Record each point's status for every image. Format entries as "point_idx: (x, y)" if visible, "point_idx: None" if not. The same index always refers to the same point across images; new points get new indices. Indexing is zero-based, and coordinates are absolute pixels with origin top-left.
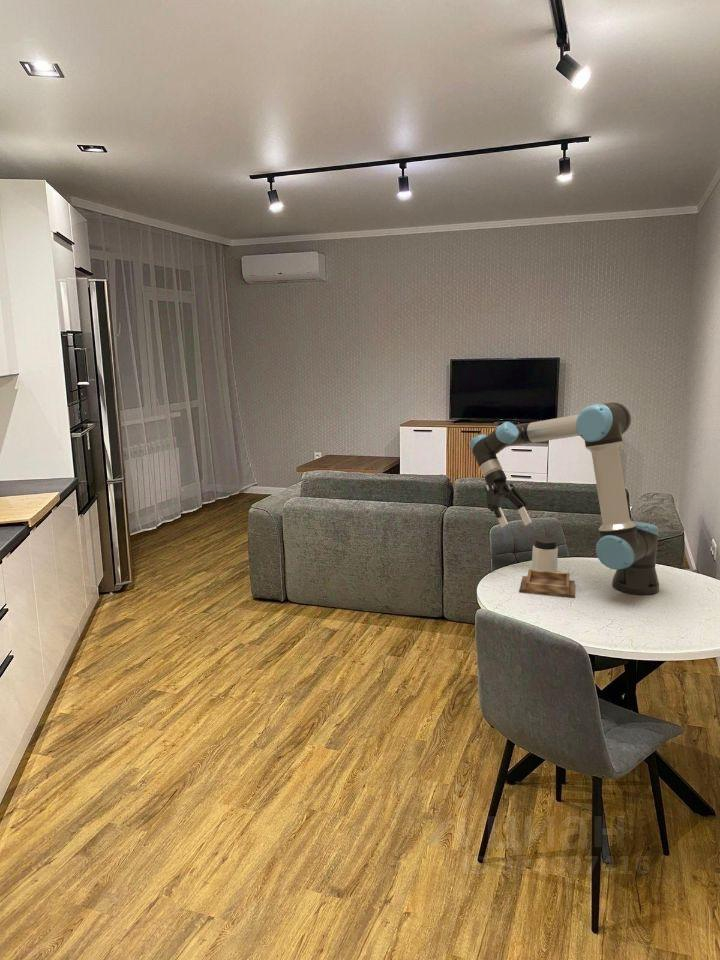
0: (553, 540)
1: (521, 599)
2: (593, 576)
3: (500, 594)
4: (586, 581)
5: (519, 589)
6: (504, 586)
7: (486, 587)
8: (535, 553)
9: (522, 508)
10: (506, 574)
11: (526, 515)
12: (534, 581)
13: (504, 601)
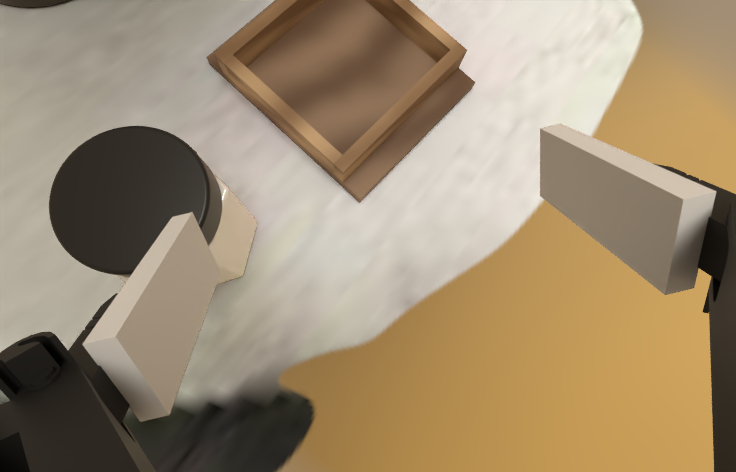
0: (93, 162)
1: (506, 34)
2: (64, 93)
3: (546, 101)
4: (145, 63)
5: (474, 82)
6: (484, 160)
7: None
8: (229, 230)
9: (135, 339)
10: (387, 275)
11: (170, 260)
12: (363, 122)
13: (570, 46)
